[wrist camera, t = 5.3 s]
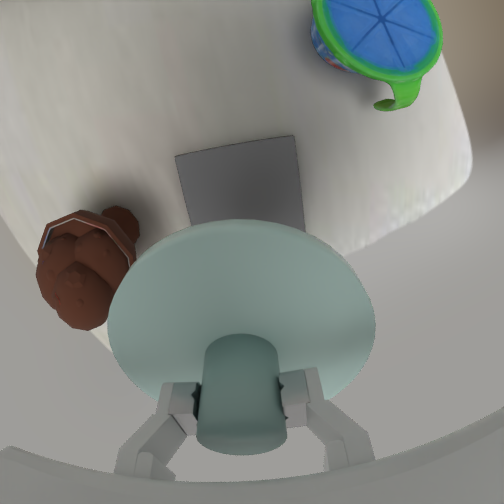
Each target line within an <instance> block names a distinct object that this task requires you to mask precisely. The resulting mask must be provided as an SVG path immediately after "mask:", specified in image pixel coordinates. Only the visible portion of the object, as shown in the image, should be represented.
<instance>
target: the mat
mask: <svg viewBox="0 0 504 504" xmlns="http://www.w3.org/2000/svg"><path fill="white" fill-rule="evenodd" d="M175 161H176V165H177V170H178V174H179V178H180V182H181V186H182V190H183V194H184V198H185V202H186V206H187V210H188V214H189V218H190V222H191V226H195V225H199V224H203V223H207V222H212V221H221V220H230V219H247V220H261V221H267V222H274V223H279V224H282V225H286V226H289V227H293V228H296V229H299V230H301V231H303V232H305V223H304V213H303V204H302V195H301V186H300V178H299V169H298V161H297V154H296V146H295V139H294V136H293V135H292V136H284V137H277V138H269V139H263V140H256V141H250V142H244V143H238V144H232V145H227V146H221V147H216V148H211V149H206V150H201V151H196V152H192V153H187V154H182V155H178V156H176V157H175Z"/></svg>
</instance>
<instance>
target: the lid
mask: <svg viewBox="0 0 504 504" xmlns="http://www.w3.org/2000/svg"><path fill="white" fill-rule="evenodd" d="M375 327H376V323H375V315H374V310H373V307H372V304H371V301H370V298H369V296H368V295H367V293H366V291H365V289H364V287H363V286H362V283H361V282H360V280H359V278H358V277H357V275H356V273H355V271H354V270H353V268H352V267H351V266H350V265H349V264H348V262H347V261H346V260H345V259H344V258H343V257H342V256H341V255H340V254H339V253H338V252H337V251H335V250H334V249H333V248H332V247H331V246H329V245H328V244H326V243H324V242H323V241H321V240H320V239H318V238H316V237H315V236H313V235H310V234H308V233H306V232H303V231H301V230H299V229H296V228H293V227H289V226H286V225H282V224H279V223H274V222H267V221H261V220H247V219H230V220H221V221H212V222H207V223H203V224H199V225H195V226H191V227H188V228H186V229H183V230H180V231H178V232H175V233H173V234H171V235H169V236H167V237H165V238H164V239H162V240H160V241H158V242H157V243H155V244H154V245H153V246H151V247H150V248H149V249H148V250H146V251H145V252H144V253H143V254H142V255H141V256H140V257H139V258H138V259H137V260H136V261H135V262H134V263H133V264H132V266H131V267H130V269H129V270H128V272H127V273H126V275H125V277H124V278H123V280H122V282H121V284H120V286H119V287H118V289H117V291H116V293H115V295H114V297H113V300H112V303H111V305H110V309H109V314H108V337H109V342H110V346H111V348H112V351H113V354H114V356H115V358H116V360H117V362H118V363H119V365H120V367H121V368H122V370H123V371H124V372H125V374H126V375H127V376H128V377H129V378H130V380H131V381H132V382H133V383H134V384H135V385H136V386H137V387H139V388H140V389H141V390H142V391H143V392H145V393H146V394H147V395H149V396H150V397H152V398H153V399H155V400H156V401H158V400H159V395H160V390H161V386H162V384H163V383H170V382H199V383H200V384H201V393H200V402H199V412H198V423H197V433H196V437H197V440H198V442H199V443H200V444H202V445H203V446H204V447H206V448H208V449H210V450H213V451H216V452H219V453H223V454H229V455H254V454H261V453H265V452H269V451H271V450H274V449H276V448H278V447H280V446H281V445H282V444H283V443H284V442H285V441H286V439H287V431H286V421H285V416H284V413H283V407H282V399H281V388H280V382H279V373H282V372H288V371H294V370H300V369H307V368H313V367H317V369H318V373H319V377H320V382H321V386H322V391H323V395H324V400H329V399H331V398H332V397H334V396H335V395H337V394H338V393H339V392H340V391H342V390H343V389H344V388H345V387H346V386H347V385H348V384H349V383H350V382H351V381H352V380H354V378H355V377H356V376H357V375H358V373H359V372H360V371H361V369H362V368H363V366H364V364H365V362H366V361H367V359H368V357H369V355H370V352H371V350H372V347H373V343H374V338H375Z"/></svg>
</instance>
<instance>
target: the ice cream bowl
mask: <svg viewBox="0 0 504 504" xmlns="http://www.w3.org/2000/svg"><path fill="white" fill-rule="evenodd" d="M139 236H140V234H139V224H138V221H137V219H136V218H135V217H134V216H133V214H132V213H131V212H130V211H129V210H127V209H124V208H121V207H118V206H113V207H111V208H108V209H105V210H104V211H103V213H102V214H101V215H98V214H95V213H92V212H90V211H85V210H79V211H77V212H74V213H72V214H69V215H67V216H64V217H62V218H60V219H57V220H55V221H53V222H51V223H48V224H46V227H45V230H44V233H43V236H42V238H41V241H40V244H39V247H38V250H37V251H38V255H39V258H38V265H37V270H36V278H37V281H38V284H39V288H40V291H41V294H42V297H43V298H44V299H45V300H46V301H47V303H48V304H49V305H50V306H51V307H52V308H53V309H55V310H56V311H57V313H58V316H59V317H60V318H61V319H62V320H63V321H65V322H66V323H67V324H68V325H69V326H71V327H72V328H75V329H81V330H86V331H89V330H91V329H94V328H97V327H98V326H101V325H102V324H103V323H105V322H106V320H107V318H108V314H109V309H110V305H111V303H112V300H113V297H114V295H115V293H116V291H117V289H118V287H119V286H120V284H121V282H122V280H123V278H124V277H125V275H126V273H127V272H128V270H129V269H130V267H131V266H132V264H133V263H134V262H135V261H136V260H137V259H136V251H135V246H134V244H135V242H136V240H137V239H138V237H139Z"/></svg>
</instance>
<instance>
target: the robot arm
mask: <svg viewBox="0 0 504 504" xmlns="http://www.w3.org/2000/svg"><path fill="white" fill-rule="evenodd" d="M279 382H280V388H281V399H282V407H283V413H284V416H285V421H286V428H293V427H301V426H307V427H308V428H309V429H310V430H311V431H312V432H313V433H314V434H315V435H316V436H317V437H318V438H319V439H320V440H321V441H322V442H323V444H324V445H325V456H324V465H323V467H324V472H321V473H316V474H310V475H304V476H296V477H289V478H280V479H271V480H259V481H242V482H185V481H175V474H174V473H173V472H172V471H170V470H169V469H168V468H167V467H166V465H167V463H168V462H169V461H170V459H171V458H172V457H173V455H174V454H175V453H176V451H177V450H178V448H179V447H180V446H181V444H182V443H183V442H184V440H185V438H186V437H187V436H189V435H196V433H197V423H198V412H199V402H200V393H201V384H200V383H199V382H170V383H163V384H162V386H161V390H160V395H159V400H158V405H157V410H156V414H155V415H152V416H151V417H150V418H149V419H148V420H147V421H146V422H145V423H144V424H143V425H142V426H141V427H140V428H139V429H138V430H137V431H136V432H135V433H134V434H133V435H132V436H131V437H130V438H129V439H128V440H127V441H126V442H125V443H124V444H123V445H122V446H121V447H120V448H119V452H118V456H117V460H116V465H115V469H114V474H113V473H107V472H102V471H97V470H92V469H87V468H83V467H79V466H74V465H71V464H67V463H63V462H59V461H56V460H53V459H49V458H46V457H43V456H39V455H36V454H34V453H31V452H28V451H25V450H22V449H20V448H17V447H14V446H7V447H6V448H4V449H3V450H1V451H0V504H504V407H502V408H501V409H499V410H497V411H496V412H494V413H492V414H490V415H488V416H486V417H484V418H483V419H480V420H478V421H476V422H474V423H472V424H471V425H468V426H466V427H464V428H462V429H460V430H458V431H455V432H453V433H451V434H449V435H446V436H444V437H441V438H439V439H437V440H434V441H431V442H429V443H427V444H424V445H421V446H418V447H415V448H413V449H410V450H407V451H404V452H401V453H398V454H395V455H392V456H388V457H385V458H382V459H378V460H375V456H374V453H373V449H372V445H371V442H370V438H369V435H368V432H367V431H366V430H364V429H363V428H362V427H361V426H359V425H358V424H357V423H356V422H355V421H353V420H352V419H351V418H350V417H348V416H347V415H346V414H345V413H344V412H343V411H341V410H340V409H339V408H338V407H337V406H335V405H334V404H333V403H332V402H331V401H329V400H324V395H323V391H322V386H321V382H320V377H319V373H318V369H317V367H313V368H307V369H300V370H294V371H288V372H282V373H279Z"/></svg>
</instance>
